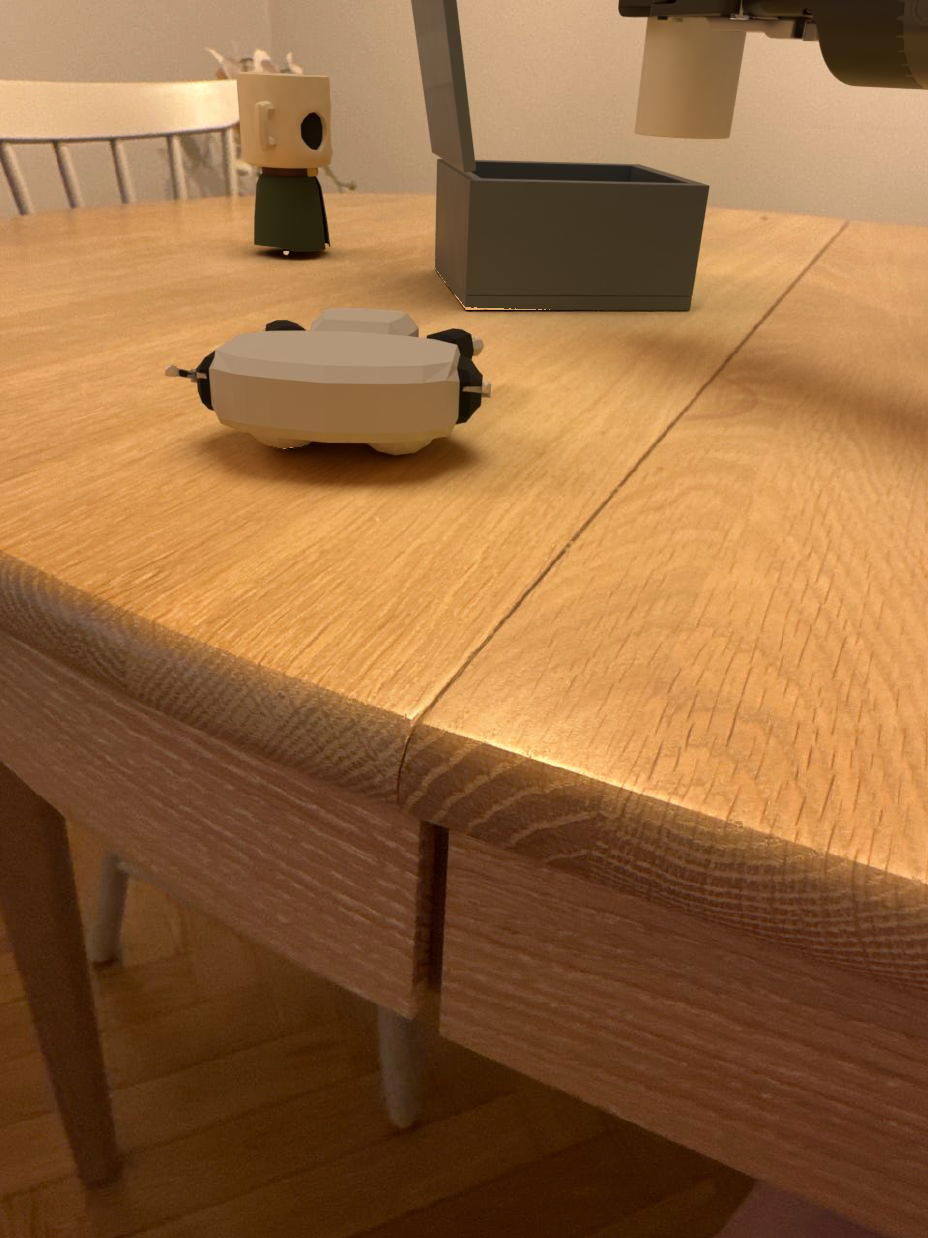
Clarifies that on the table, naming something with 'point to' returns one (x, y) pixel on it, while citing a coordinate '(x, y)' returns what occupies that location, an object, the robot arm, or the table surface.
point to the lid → (444, 81)
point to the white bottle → (688, 79)
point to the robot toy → (343, 381)
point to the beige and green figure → (287, 155)
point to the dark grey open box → (568, 235)
